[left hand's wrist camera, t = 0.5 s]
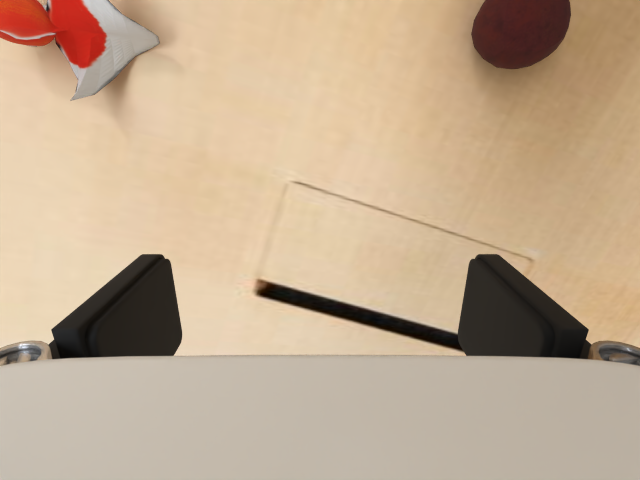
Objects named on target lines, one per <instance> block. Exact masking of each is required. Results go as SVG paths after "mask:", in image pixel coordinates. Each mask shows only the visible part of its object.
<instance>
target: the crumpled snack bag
mask: <svg viewBox="0 0 640 480" xmlns="http://www.w3.org/2000/svg"><path fill="white" fill-rule="evenodd" d="M54 37H55V40H56V44H57V46H58V47H59V48H60V50H61V51H62V53H63V54H64V55H65V57H66V58H67V60H68V61H69V63H70V65H71V67H72V70H73V72H74V73H75V75H76V77H77V79H78V84H77V88H76V92H75V95H74V96H73V98H72V99H71V100H75V99H79V98H83V97H87V96H91V95H95V94H96V93H97V92H98V91H100V90H101V89H102V88H103V87H105V86H106V85H107V84H108V83H110V82H111V81H112V80H113V79H114V78H115V77H116V76H117V75H118V74H119V73H120V72H121V71H122V70H123V69H124V67H125V66H126V65H127V64H128V63H129V62H130V61H131V60H132V59H133V58H134V57H135V56H137V55H139V54H141V53H143V52H145V51H147V50H149V49H151V48H153V47H155V46H157V45H158V44H159V43H160V42H159V39H158V36H157V35H155V34H154V33H153V32H151V31H149V30H148V29H146V28H144V27H143V26H141V25H139V24H138V23H136V22H135V21H133V20H131V19H129V18H128V17H126V16H124V15H123V14H122V13H121V12H120V11H118V10H117V9H116V8H115V7H114V6H113V5H112V4H111V3H110V1H109V0H47V5H43V6H42V5H41V4H40V3H39V2H38V1H37V0H0V38H3V39H5V40H7V41H10V42H13V43H17V44H23V45H27V46H31V47H36V46H43V45H46V44H48V43H50V42H51V41H52V40H53V39H54ZM71 100H70V101H71Z"/></svg>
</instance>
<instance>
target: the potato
mask: <svg viewBox="0 0 640 480" xmlns="http://www.w3.org/2000/svg"><path fill="white" fill-rule="evenodd" d="M570 16H571V11H570V2H569V0H485V2H484V3H483V5H482V7H481V8H480V10H479V12H478V14H477V16H476V18H475V20H474V24H473V29H472V39H473V44H474V47H475V48H476V50H477V51H478V53H479V54H480V55H481V57H482V58H483V59H484V60H486V61H488V62H489V63H491V64H492V65H494V66H496V67H498V68H507V69H518V68H523V67H528V66H531V65H533V64H535V63H537V62H539V61H541V60H542V59H544V58H546V57H547V56H549V55H550V54H551V53H552V52H553V51H554V50H556V49H557V47H558V46H559V44H560V43H561V42H562V40H563V39H564V37H565V34H566V32H567V29H568V27H569V22H570Z"/></svg>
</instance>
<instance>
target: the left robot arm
mask: <svg viewBox="0 0 640 480" xmlns="http://www.w3.org/2000/svg"><path fill="white" fill-rule="evenodd" d="M52 333H53V337H54V340H53V341H52V342H51V343H50V344H49V345H48V344H47V343H44V342H42V341H25V342H19V343H15V344H11V345H7V346H5V347H2V348H0V480H640V348H638V347H635V346H633V345H629V344H625V343H621V342H615V341H598V342H596V343H593V344H592V345H591V344H590V343H589V342H588V341H587V340H586V337H587V333H588V329H587V328H586V327H585V326H584V325H582V324H581V323H580V322H579V321H578V320H576V319H575V318H574V317H573V316H572V315H570V314H569V313H568V312H567V311H566V310H564V309H563V308H562V307H561V306H560V305H558V304H557V303H556V302H555V301H554V300H552V299H551V298H550V297H549V296H548V295H546V294H545V293H544V292H543V291H542V290H540V289H539V288H538V287H537V286H536V285H534V284H533V283H532V282H531V281H530V280H528V279H527V278H526V277H525V276H524V275H522V274H521V273H520V272H519V271H517V270H516V269H515V268H514V267H513V266H511V265H510V264H509V263H508V262H507V261H505V260H504V259H503V258H502V257H501V256H499V255H497V254H479V255H477V256H476V258H475V259H471V261H470V263H469V268H468V274H467V280H466V286H465V292H464V298H463V304H462V310H461V316H460V323H459V329H458V340H459V343H460V345H461V347H462V349H463V351H464V352H465V354H466V356H420V355H213V356H174V354H175V352H176V351H177V349H178V347H179V345H180V343H181V340H182V329H181V323H180V317H179V310H178V304H177V298H176V292H175V286H174V280H173V274H172V268H171V263H170V261H169V259H165V258H164V256H163V255H161V254H143V255H141V256H139V257H138V258H137V259H136V260H135V261H133V262H132V263H131V264H130V265H129V266H127V267H126V268H125V269H124V270H123V271H121V272H120V273H119V274H118V275H116V276H115V277H114V278H113V279H112V280H110V281H109V282H108V283H107V284H106V285H104V286H103V287H102V288H101V289H100V290H98V291H97V292H96V293H95V294H94V295H92V296H91V297H90V298H89V299H88V300H86V301H85V302H84V303H83V304H82V305H80V306H79V307H78V308H77V309H76V310H74V311H73V312H72V313H71V314H70V315H68V316H67V317H66V318H65V319H64V320H62V321H61V322H60V323H59V324H58V325H56V326H55V327H54V328H53V329H52Z"/></svg>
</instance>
